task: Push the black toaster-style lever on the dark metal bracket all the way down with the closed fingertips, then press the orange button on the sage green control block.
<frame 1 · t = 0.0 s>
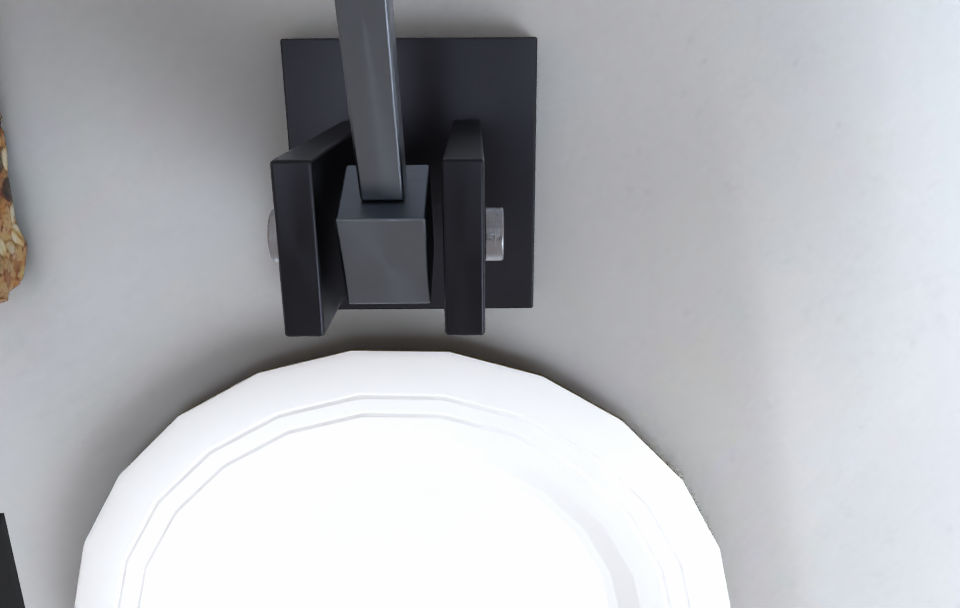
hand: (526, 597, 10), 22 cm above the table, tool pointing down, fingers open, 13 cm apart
lever: (369, 49, 17), point 12 cm above the table, hinge at 25.0°
bracket: (415, 175, 30), on the table
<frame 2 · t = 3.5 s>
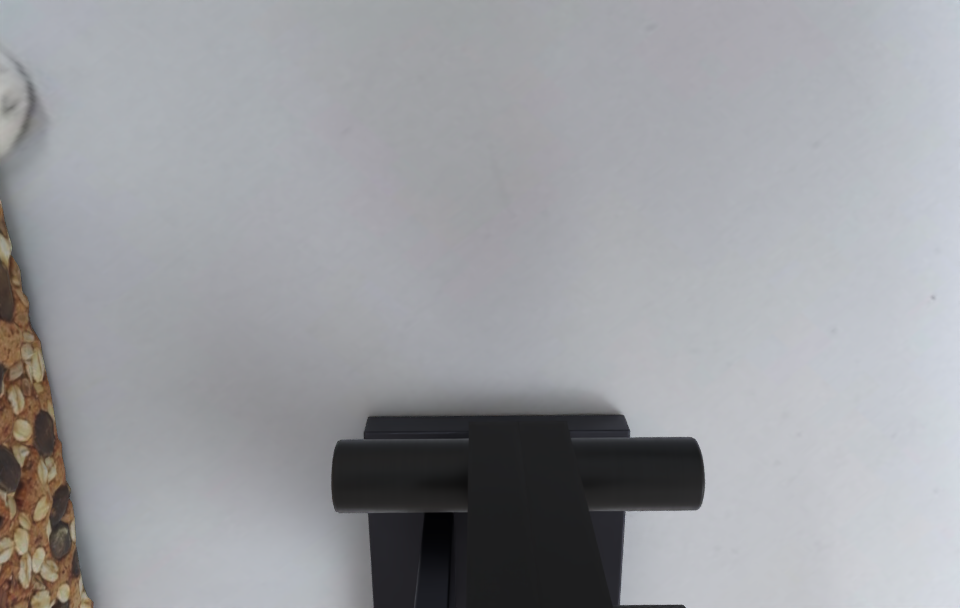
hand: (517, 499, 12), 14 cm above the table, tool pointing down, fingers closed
bracket: (496, 537, 29), on the table
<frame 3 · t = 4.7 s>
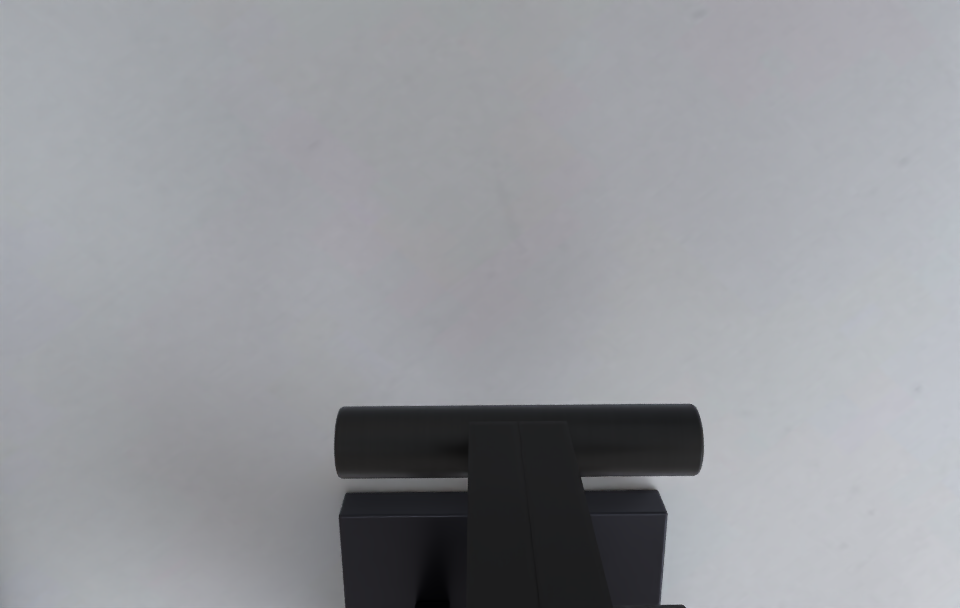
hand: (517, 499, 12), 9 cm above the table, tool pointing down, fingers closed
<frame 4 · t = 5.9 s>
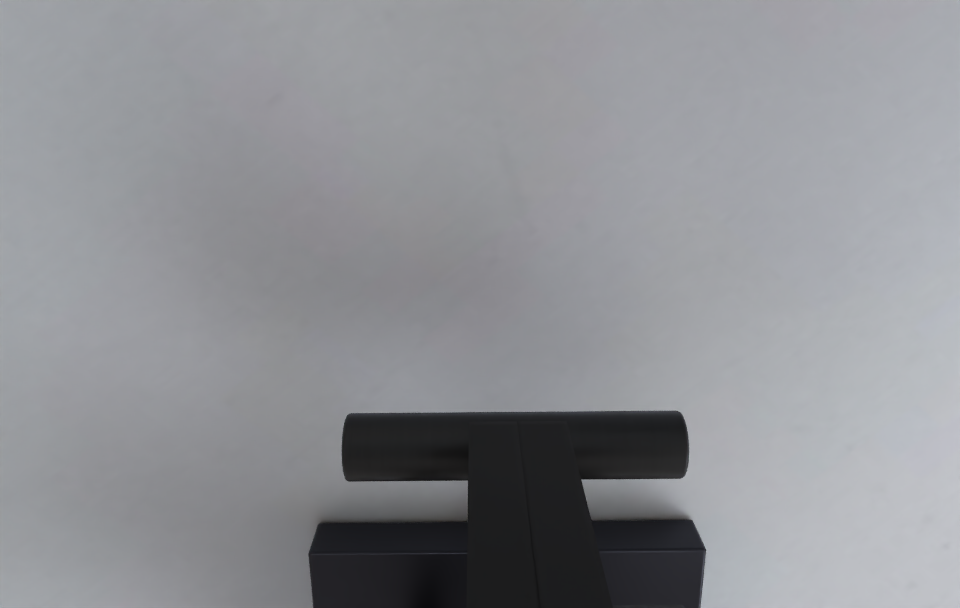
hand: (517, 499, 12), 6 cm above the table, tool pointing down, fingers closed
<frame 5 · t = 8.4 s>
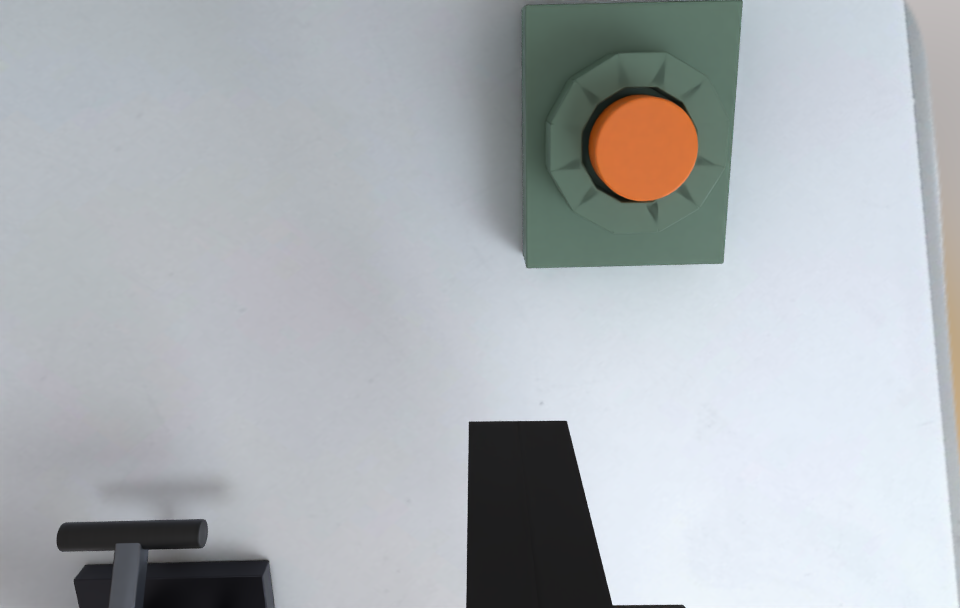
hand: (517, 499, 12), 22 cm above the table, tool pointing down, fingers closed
control block: (619, 135, 32), on the table
button: (641, 147, 28), point 4 cm above the table, slide at 0.1 cm
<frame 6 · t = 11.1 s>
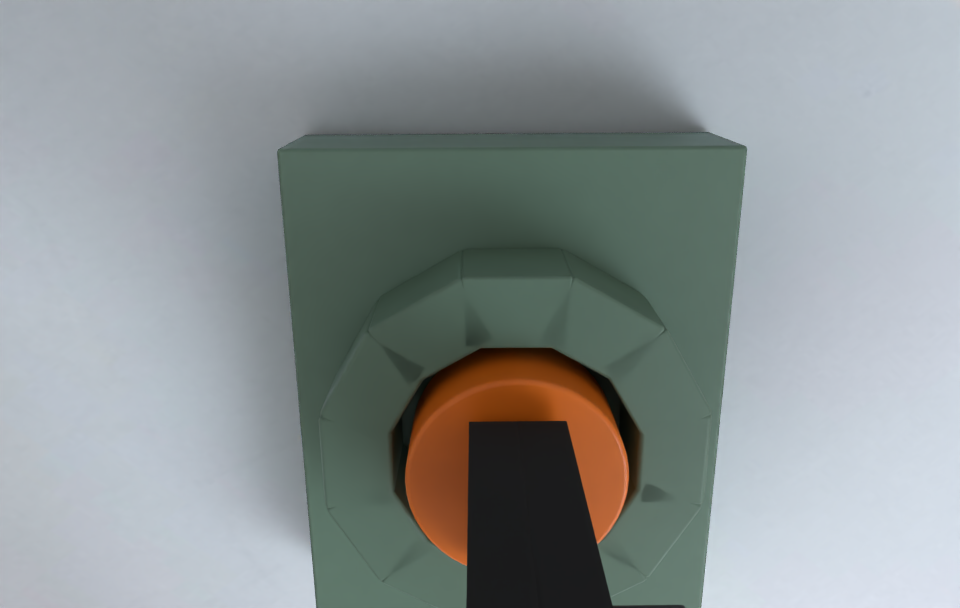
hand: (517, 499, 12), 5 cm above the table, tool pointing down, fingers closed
control block: (506, 369, 17), on the table
button: (514, 456, 13), point 4 cm above the table, slide at -0.6 cm, touching gripper
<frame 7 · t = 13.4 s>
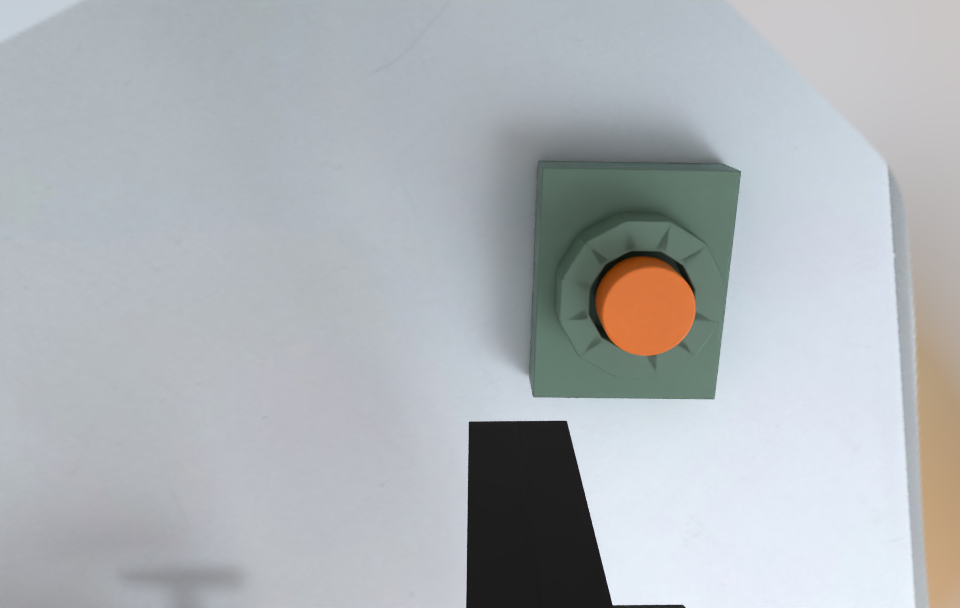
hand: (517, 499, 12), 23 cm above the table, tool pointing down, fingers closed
control block: (622, 275, 35), on the table
button: (644, 305, 31), point 4 cm above the table, slide at 0.1 cm
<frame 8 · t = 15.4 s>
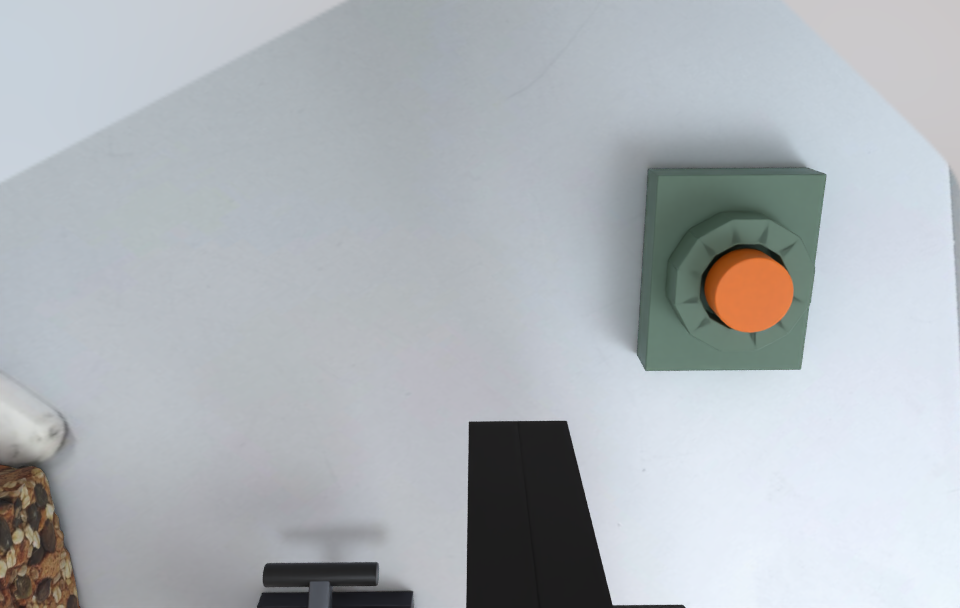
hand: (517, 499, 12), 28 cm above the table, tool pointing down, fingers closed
control block: (719, 264, 41), on the table
bread: (2, 592, 47), on the table
button: (748, 290, 36), point 4 cm above the table, slide at 0.1 cm
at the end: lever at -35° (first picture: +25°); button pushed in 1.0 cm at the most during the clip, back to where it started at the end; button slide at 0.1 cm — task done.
